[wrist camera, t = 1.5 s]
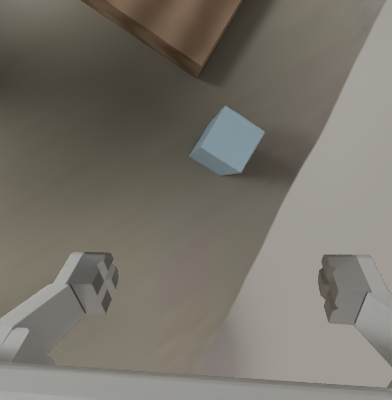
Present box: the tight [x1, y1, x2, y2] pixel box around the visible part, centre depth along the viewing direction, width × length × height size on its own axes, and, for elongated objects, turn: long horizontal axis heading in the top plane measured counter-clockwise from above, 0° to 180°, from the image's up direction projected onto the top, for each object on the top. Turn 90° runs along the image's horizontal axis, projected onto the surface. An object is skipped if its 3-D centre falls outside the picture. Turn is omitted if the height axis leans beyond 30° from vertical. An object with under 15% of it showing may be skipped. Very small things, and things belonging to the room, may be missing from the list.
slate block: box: [189, 105, 265, 176], centre depth 35 cm, size 5×5×10 cm
